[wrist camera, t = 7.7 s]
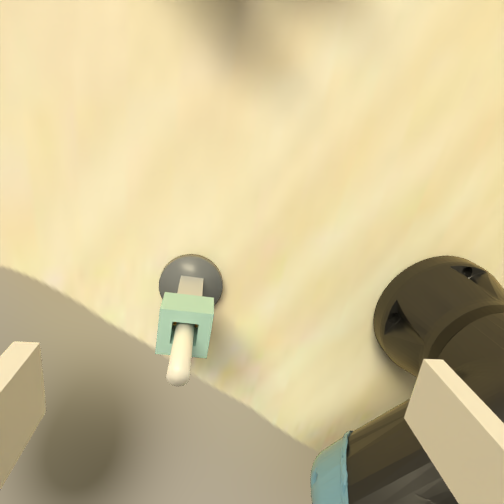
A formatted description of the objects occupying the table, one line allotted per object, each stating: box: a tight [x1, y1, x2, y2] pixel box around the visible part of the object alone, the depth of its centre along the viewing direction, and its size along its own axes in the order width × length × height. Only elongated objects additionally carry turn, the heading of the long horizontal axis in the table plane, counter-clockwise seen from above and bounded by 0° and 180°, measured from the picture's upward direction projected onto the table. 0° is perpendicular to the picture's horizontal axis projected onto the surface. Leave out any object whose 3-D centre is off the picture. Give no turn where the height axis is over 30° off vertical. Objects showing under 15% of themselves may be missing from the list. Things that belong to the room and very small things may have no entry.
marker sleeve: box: [155, 292, 214, 358], centre depth 31 cm, size 4×4×3 cm
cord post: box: [159, 254, 222, 386], centre depth 32 cm, size 7×7×16 cm
